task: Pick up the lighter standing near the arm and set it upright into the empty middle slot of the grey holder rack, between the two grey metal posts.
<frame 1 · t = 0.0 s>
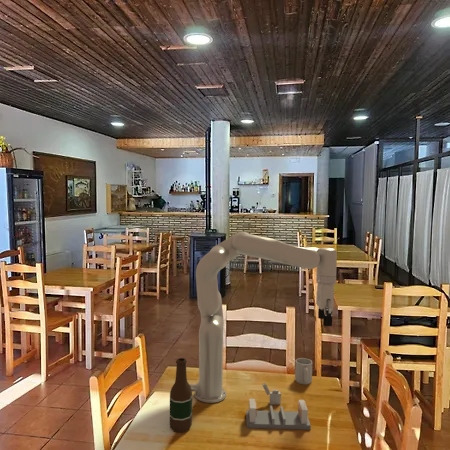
hand: (324, 322, 161), 31 cm above the table, tool pointing down, fingers open, 9 cm apart
lighter: (271, 403, 158), on the table
grey holder rack: (277, 421, 145), on the table
beer bottle: (180, 427, 141), on the table
cup: (303, 383, 177), on the table
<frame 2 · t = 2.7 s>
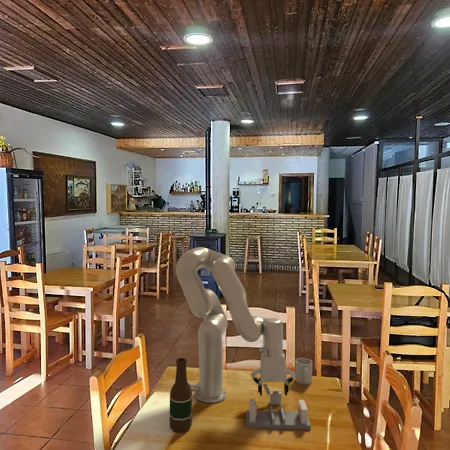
hand: (273, 394, 158), 4 cm above the table, tool pointing down, fingers open, 9 cm apart
nothing on the table moved.
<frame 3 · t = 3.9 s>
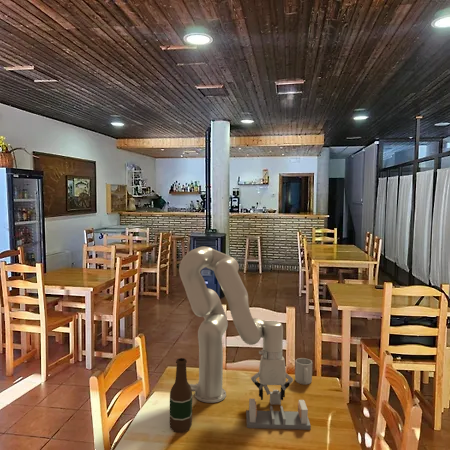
hand: (271, 398, 158), 2 cm above the table, tool pointing down, fingers closed on lighter, 7 cm apart
lighter: (271, 403, 158), on the table, touching gripper
everything else where it was.
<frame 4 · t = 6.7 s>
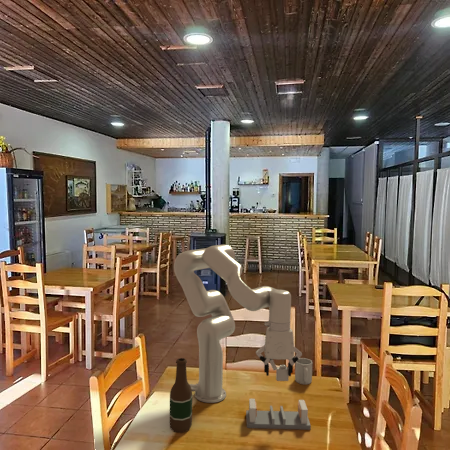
hand: (278, 374, 144), 17 cm above the table, tool pointing down, fingers closed on lighter, 7 cm apart
lighter: (278, 380, 144), point 15 cm above the table, touching gripper
everything else where it was.
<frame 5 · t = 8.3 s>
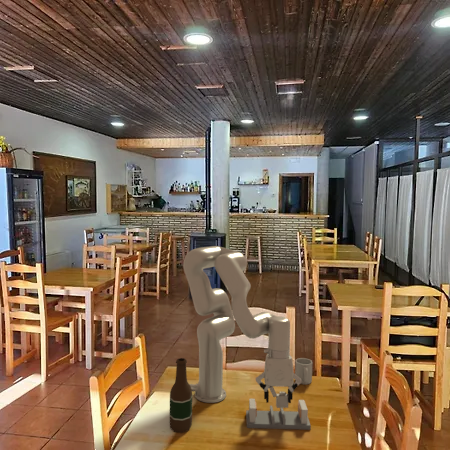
hand: (278, 400, 144), 8 cm above the table, tool pointing down, fingers closed on lighter, 7 cm apart
lighter: (278, 407, 145), point 5 cm above the table, touching gripper
everything else where it was.
when the fingers open (6 cm above the table, at t = 9.8 s): lighter stays where it is, resting on grey holder rack.
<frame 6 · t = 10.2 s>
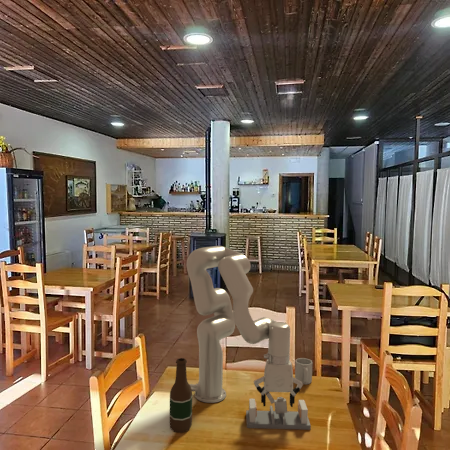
hand: (277, 404, 145), 6 cm above the table, tool pointing down, fingers open, 9 cm apart
lighter: (277, 413, 145), point 3 cm above the table, touching gripper, grey holder rack
everything else where it was.
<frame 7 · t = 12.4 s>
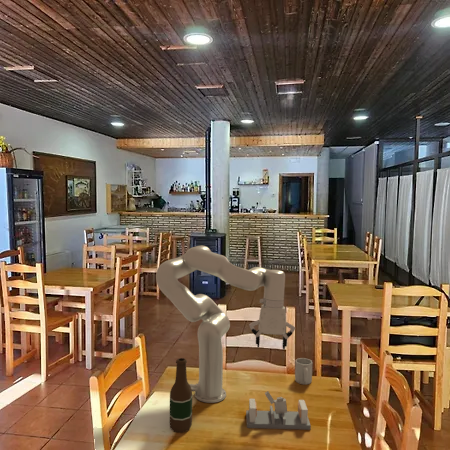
hand: (270, 347, 154), 23 cm above the table, tool pointing down, fingers open, 9 cm apart
lighter: (277, 413, 145), point 3 cm above the table, touching grey holder rack
everything else where it was.
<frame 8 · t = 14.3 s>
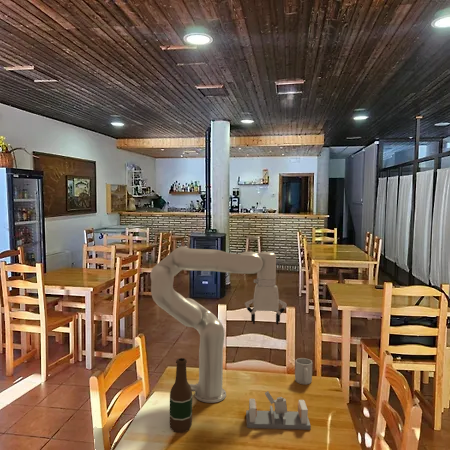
hand: (265, 323, 167), 28 cm above the table, tool pointing down, fingers open, 9 cm apart
nothing on the table moved.
at the end: lighter 0.1 cm off-centre on the grey holder rack, point 3.1 cm above the grey holder rack's base; lighter tilted 8°; the gripper is holding nothing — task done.
